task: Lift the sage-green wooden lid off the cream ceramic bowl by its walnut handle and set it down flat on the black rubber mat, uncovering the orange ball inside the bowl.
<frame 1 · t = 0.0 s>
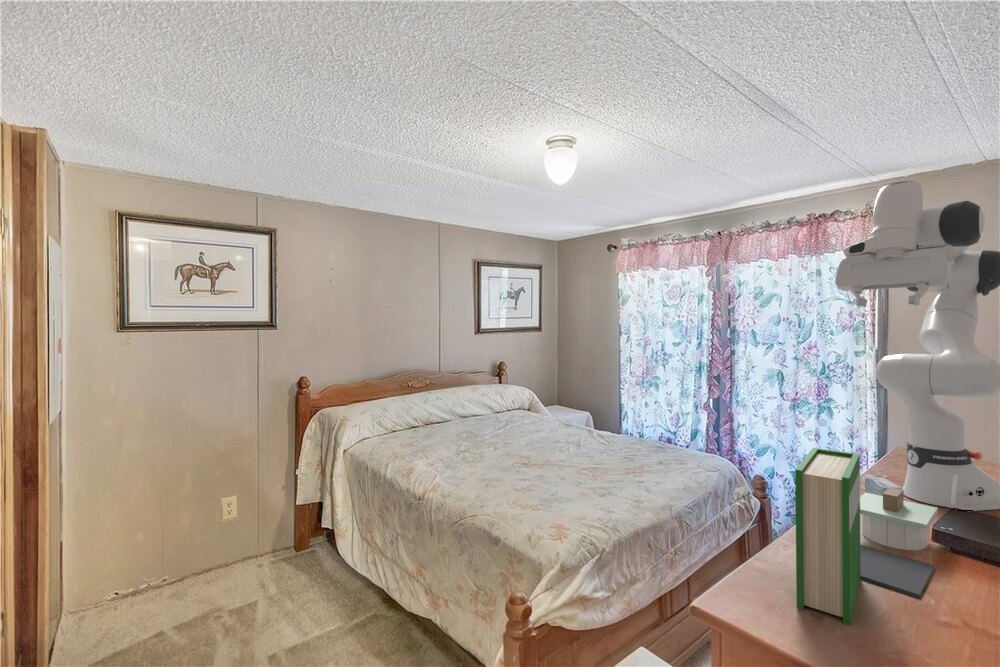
hand: (886, 305, 106), 52 cm above the dresser, tool tilted 20°, fingers open, 8 cm apart
mat: (877, 567, 94), on the dresser
ball: (893, 525, 106), point 3 cm above the dresser, touching bowl
hardback book: (830, 594, 85), on the dresser
bowl: (893, 538, 106), on the dresser
lid: (893, 511, 106), point 6 cm above the dresser, touching bowl
medicine box: (883, 517, 117), on the dresser
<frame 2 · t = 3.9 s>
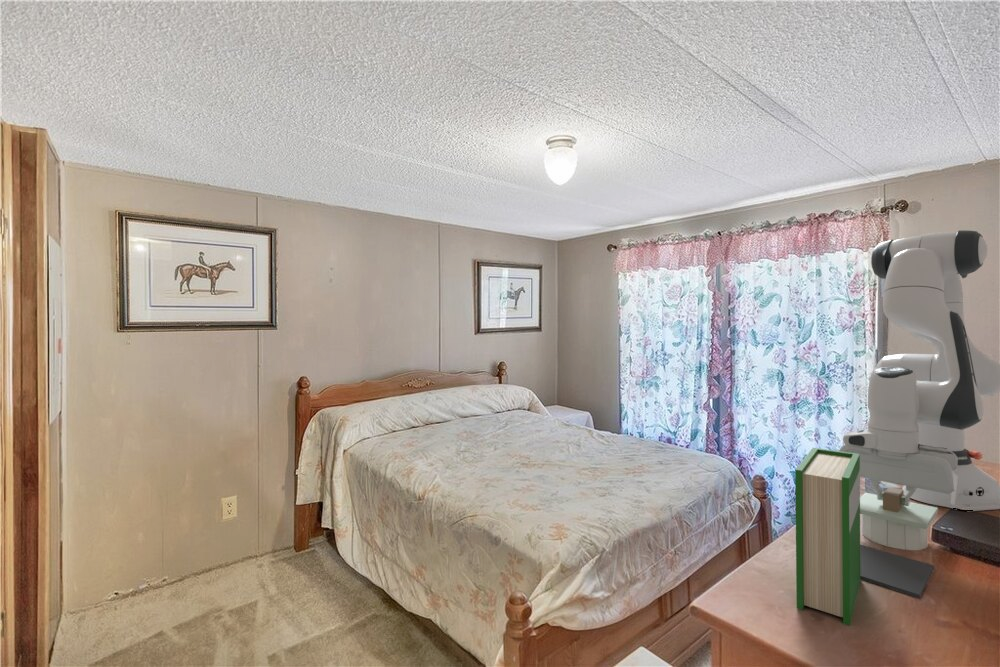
hand: (893, 502, 106), 8 cm above the dresser, tool pointing down, fingers closed on lid, 2 cm apart
lid: (893, 511, 106), point 6 cm above the dresser, touching bowl, gripper
everything else where it was.
when the fingers open (4 cm above the dresser, at t = 9.2 s): lid drops 1 cm, resting on mat.
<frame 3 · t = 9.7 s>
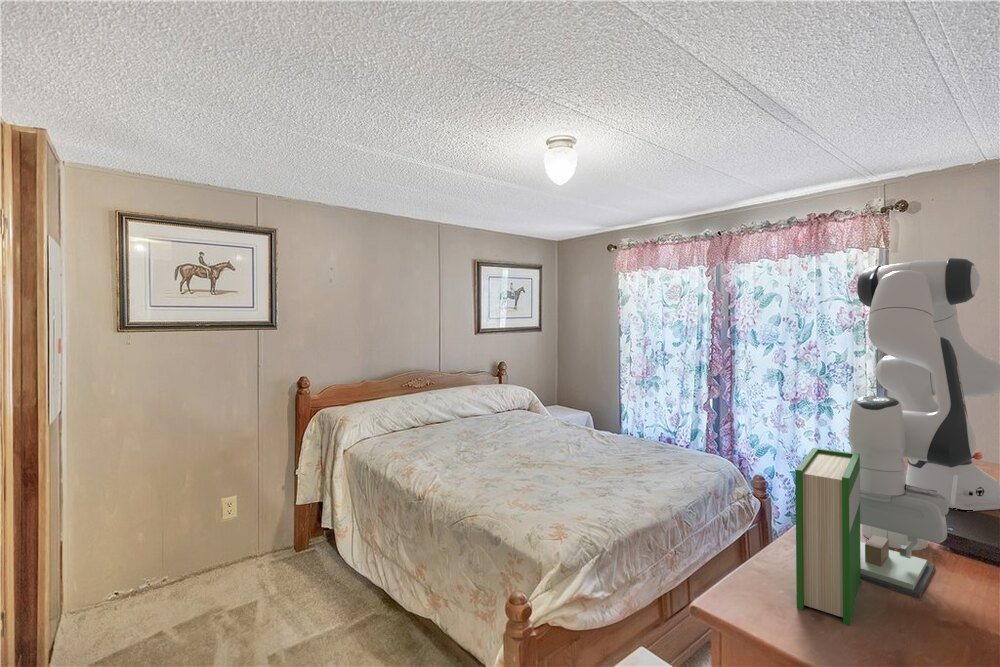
hand: (877, 548, 94), 4 cm above the dresser, tool pointing down, fingers open, 7 cm apart
lid: (877, 564, 94), point 1 cm above the dresser, touching mat
everything else where it was.
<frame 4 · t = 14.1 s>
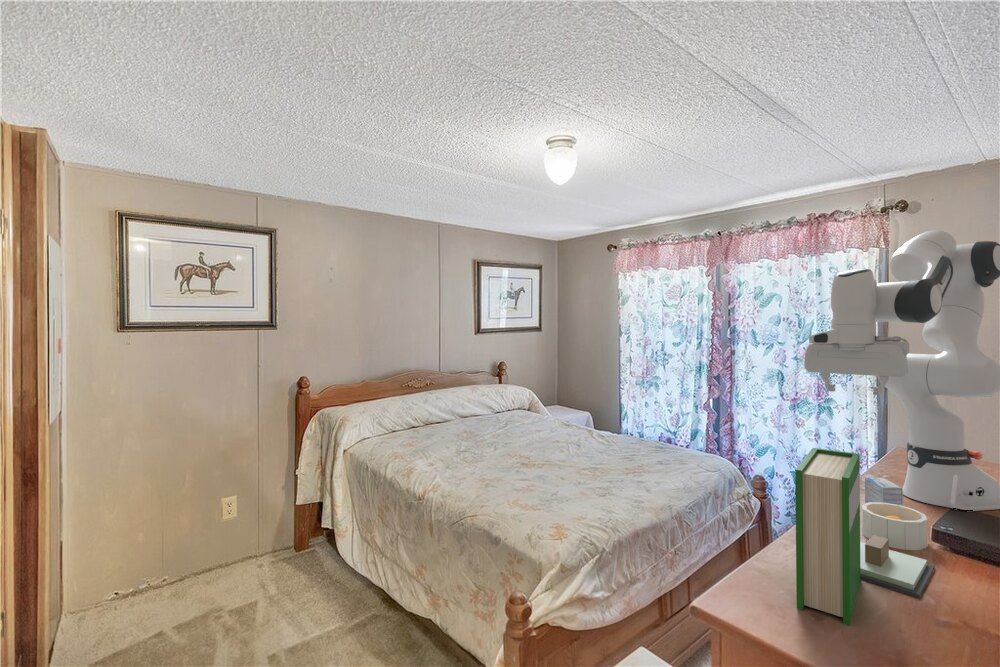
hand: (853, 393, 115), 31 cm above the dresser, tool pointing down, fingers open, 8 cm apart
nothing on the dresser moved.
at the end: lid inside the target area on the mat (0.0 cm from its centre), point 0.6 cm above the mat's base; lid touching mat; lid tilted 0° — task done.
